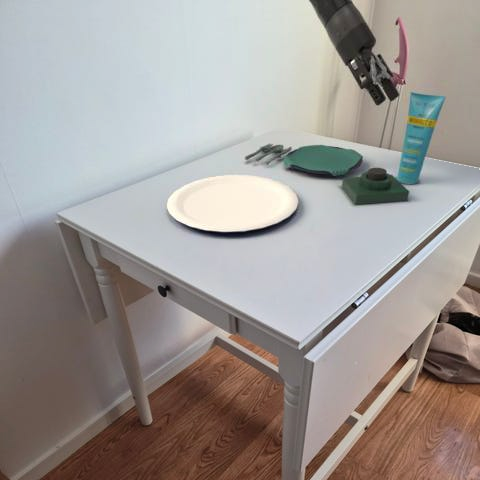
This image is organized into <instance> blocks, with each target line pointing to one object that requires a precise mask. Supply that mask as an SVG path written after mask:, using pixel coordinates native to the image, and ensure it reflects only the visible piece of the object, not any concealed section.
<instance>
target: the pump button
mask: <svg viewBox="0 0 480 480" xmlns="http://www.w3.org/2000/svg"><path fill="white" fill-rule="evenodd" d="M386 173H388V171H387V170H386V169H385V168H383V167H371V168H369V169H368V175H367V178H368V179H370V180H375V181H383V180H385V178H386Z"/></svg>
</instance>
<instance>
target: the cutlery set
mask: <svg viewBox="0 0 480 480" xmlns="http://www.w3.org/2000/svg"><path fill="white" fill-rule="evenodd" d="M284 147H285V146H284V144H275V145H274V143H268V144H265V145H263V146H260V147H259V149H257V150H256V151H255V152H253V153H250V154H248V155H246V156H244V160H246V161H249V160H250V159H252V158H253V157H256V156H257V155H259V154H260V153H261V152H266V151H268V150H269V149H270V151H268V152H266V153H264V154H262V155H260V156H258V157H256V158H255V162H261V160H262V159H264V158H265V157H267V156H270V154H273V153H276V154H275V155H274V157H273V158H271V159H270V160H268V161H266V162H265V165H266V166H269V164H270V163H271V162H272V161H274V160H276V159H279V158H280V159H281V158H282V156H283V155H285V156H284V158H283V165H284V167H285V168H286V169H288V166H290V167H292V168H294V169H296V170H298V171H302V172H306V173H311V174H319V175H332V176H334V177H336V176H340V175H341V176H344V175H346V173H348V172H350V171H354V170H355V169H357V168H358V167H360V166H361V165H362V162H363V158H364V156H363V155H362V154H361V153H359V152H358V151H356V150H355V149H351V148H344V147H339V146H333V145H331V146H330V145H324V144H311V145H303V146H300V147H298V148H296V149H293V150H292V146H289V147H288V148H286V149H285V150H283V149H284ZM282 150H283V151H282ZM279 152H280V153H279Z"/></svg>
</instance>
